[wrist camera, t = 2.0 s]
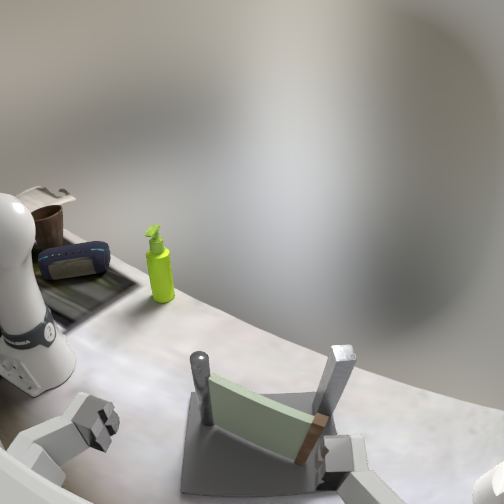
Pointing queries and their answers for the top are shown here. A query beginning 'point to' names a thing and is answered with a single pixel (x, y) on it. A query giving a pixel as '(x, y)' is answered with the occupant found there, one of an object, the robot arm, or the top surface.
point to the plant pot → (48, 226)
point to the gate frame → (247, 453)
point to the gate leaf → (264, 420)
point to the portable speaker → (74, 260)
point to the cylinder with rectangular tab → (490, 487)
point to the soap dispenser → (159, 267)
